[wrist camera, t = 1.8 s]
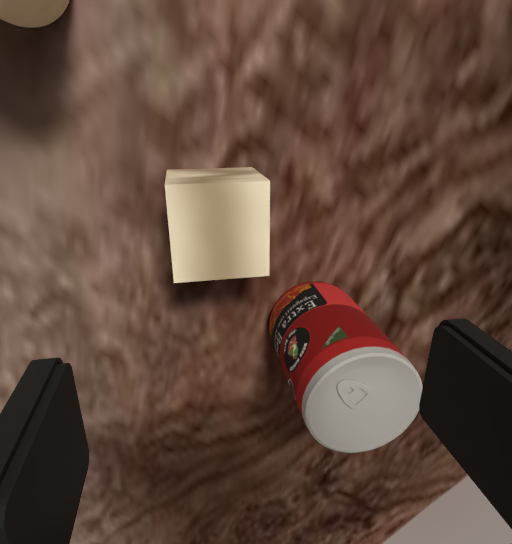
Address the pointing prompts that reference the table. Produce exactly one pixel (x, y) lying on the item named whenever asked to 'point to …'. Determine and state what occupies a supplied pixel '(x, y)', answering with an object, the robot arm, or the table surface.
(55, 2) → the candle
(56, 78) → the table surface
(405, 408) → the canned food
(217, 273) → the birch block
